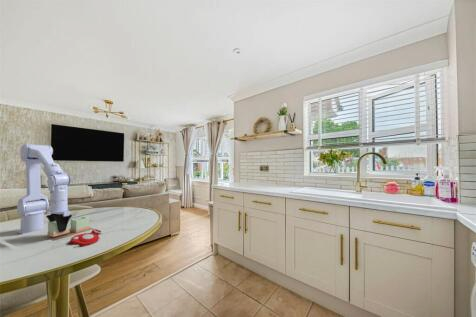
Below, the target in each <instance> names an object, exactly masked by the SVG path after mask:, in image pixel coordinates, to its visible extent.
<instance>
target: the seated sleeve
mask: <svg viewBox="0 0 476 317" xmlns="http://www.w3.org/2000/svg"><path fill="white" fill-rule="evenodd" d="M90 224H91V222H90V217H88V216H80V217H75V218H72V219H71V218H70V227H69V230H70V231H72V232H80V231H83V230H87V229H90V228H91V225H90Z"/></svg>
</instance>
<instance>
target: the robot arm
mask: <svg viewBox="0 0 476 317" xmlns="http://www.w3.org/2000/svg"><path fill="white" fill-rule="evenodd" d="M19 151H20V161H22V162H24V163H25V173H26V174H25V175H26V176H25V178H26V179H25V180H26V194H25V195H24V196H22V197H21V198H19V199H18V201H17V206H16V212H17V214H19V216H21V218H20V230H18V231H17V233H19V234H22V235H24V234H28V233H32V232H37V231H41V230H44V229H46V227H45V217H46V218H47V219H48V221H49V222H53V221H56V222H57V226H58V231H59V232H62V231H65V230H66V227H67V224H68V221H69V222H70V220H71V218H72V216H73V215H72V214H71V211H70V210H69V208H68V204H69V202H68V199H69V197H68V196H69V194H68V191H69V190H68V189H69V188H68V187H69V186H70V184H71V181H72V180H71V175H70V173H66V172H64V170H63V169H62V168H61V166H60V164H58V162H57V163H55V160H54V159H53V157H52V155H53V154H54V149H53V147H52V146H51V145H50V144H48V145H47V144H31V143H29V144H28V143H24V144H22V145H21V147H20V150H19ZM41 164H42V165H43V167H42V171H43V173H44V174H45V176H46V177H47V180H46V184H47V187H48V191H49V198H48V195H44V194H43V193H42V186H41V182H42V180H41ZM48 199H49V200H48ZM45 213H46V215H45Z"/></svg>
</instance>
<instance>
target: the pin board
mask: <svg viewBox="0 0 476 317" xmlns="http://www.w3.org/2000/svg"><path fill="white" fill-rule="evenodd" d="M92 229H94V228H93V227H90V229H87V230H83V231H80V232H72V231H70V232H69V233H65V234H62V235H58V236H55V237H52V236H49V235H45V236H44V239H48V240H51V241H57V240H61V239H64V238H68V237H71V236H75V235H79V234H83V233H86V232H88V231H92Z"/></svg>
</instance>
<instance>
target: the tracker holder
mask: <svg viewBox="0 0 476 317" xmlns="http://www.w3.org/2000/svg"><path fill="white" fill-rule="evenodd" d="M102 234H103V232H102V230H100V229H97V228H93V229H92V230H91V232H83V233H78V234H75V235H73V236H72V237H71V238H70V240H69V242H68V244H74V245H78V246H81V247H87V246H91V245H94V244H95V243H97V242H98V241H99V239H100V236H99V235H102Z"/></svg>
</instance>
